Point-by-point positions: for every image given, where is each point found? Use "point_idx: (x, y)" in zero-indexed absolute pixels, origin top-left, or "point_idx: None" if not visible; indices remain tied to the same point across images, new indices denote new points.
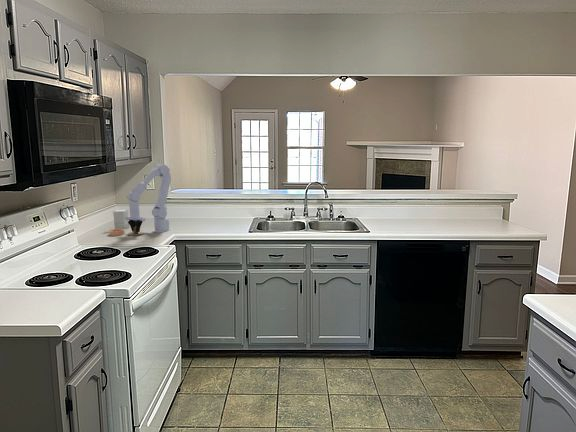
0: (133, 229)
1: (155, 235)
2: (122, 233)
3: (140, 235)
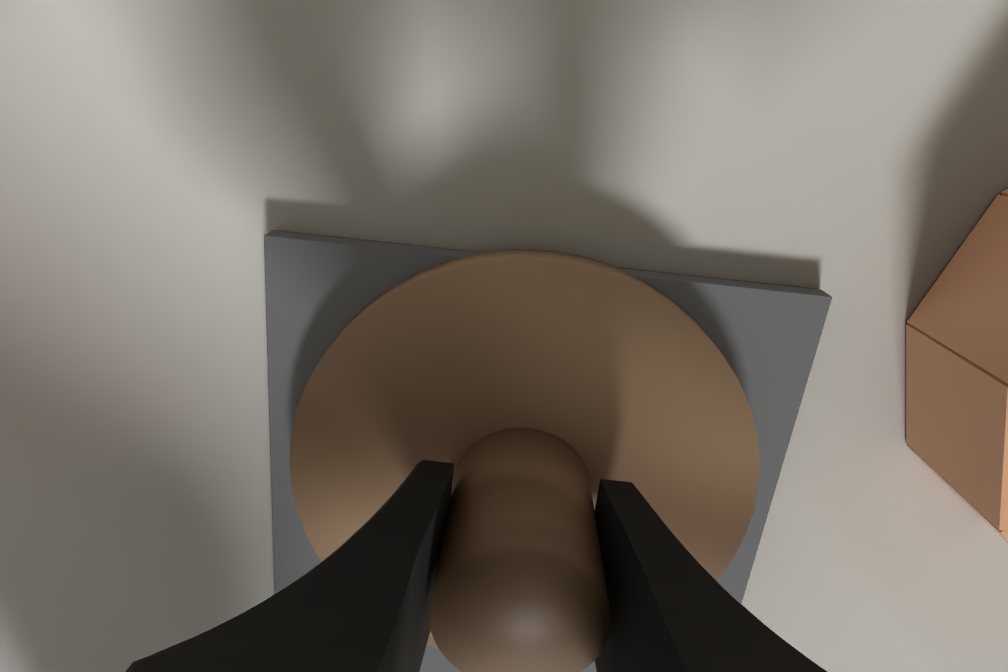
0: (578, 525)
1: (17, 541)
2: (944, 348)
3: (295, 377)
